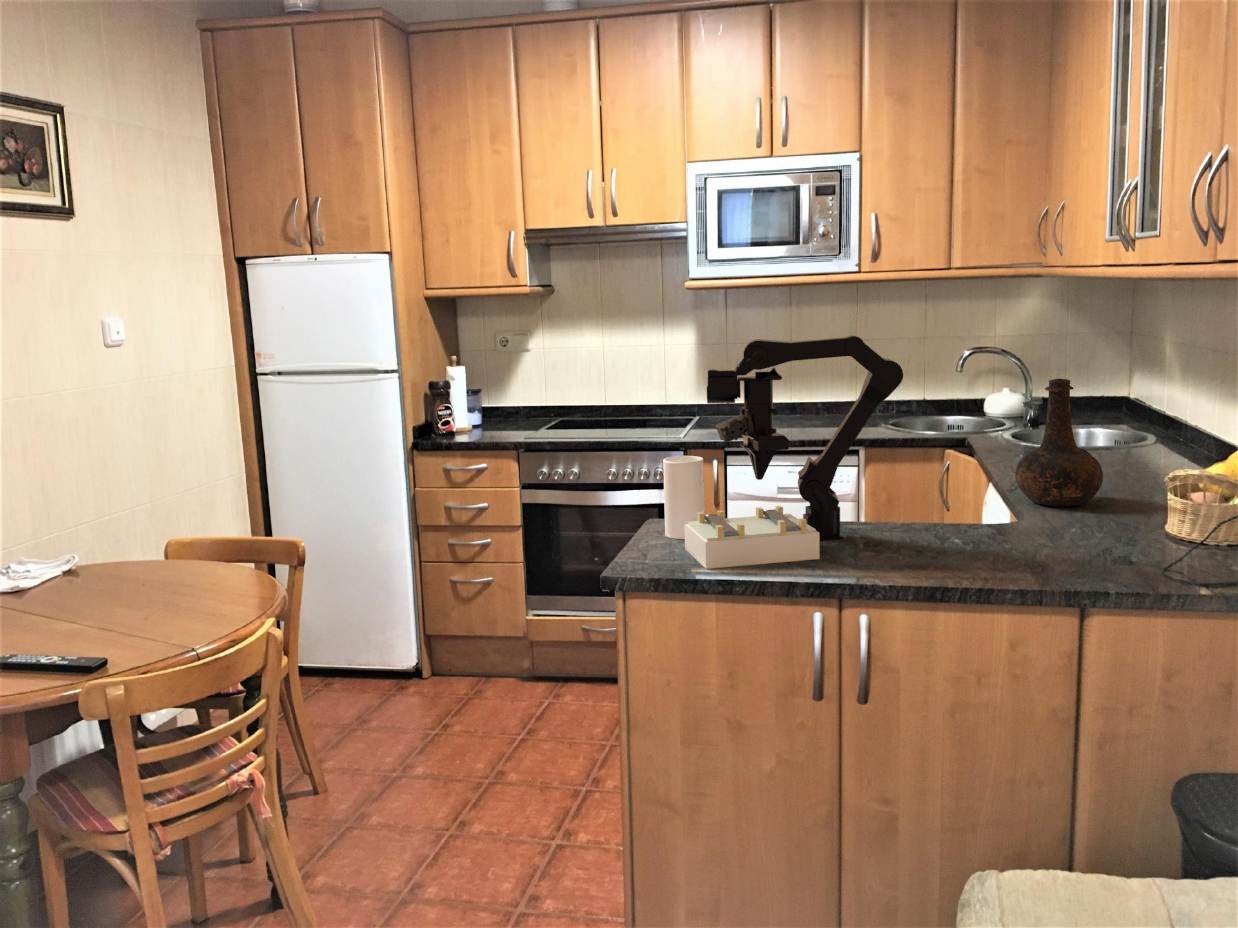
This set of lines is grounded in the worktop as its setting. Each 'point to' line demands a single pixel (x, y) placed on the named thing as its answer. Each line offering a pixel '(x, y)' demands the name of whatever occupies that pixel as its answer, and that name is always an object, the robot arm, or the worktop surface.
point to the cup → (682, 493)
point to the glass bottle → (1059, 458)
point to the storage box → (750, 541)
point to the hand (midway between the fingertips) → (759, 479)
